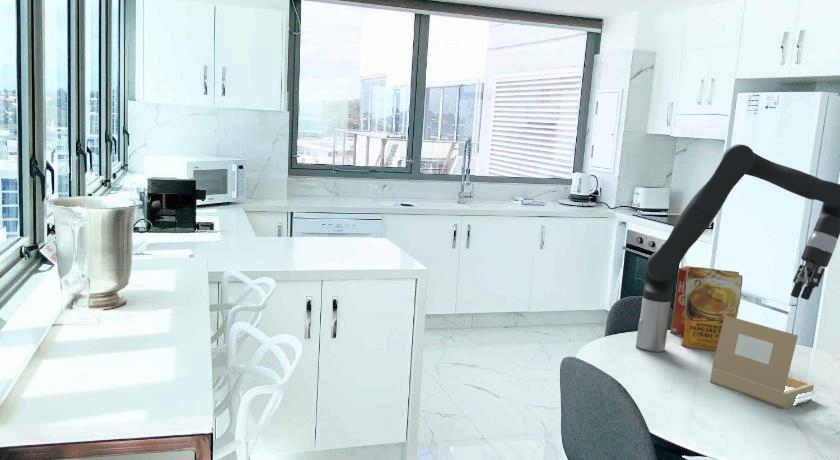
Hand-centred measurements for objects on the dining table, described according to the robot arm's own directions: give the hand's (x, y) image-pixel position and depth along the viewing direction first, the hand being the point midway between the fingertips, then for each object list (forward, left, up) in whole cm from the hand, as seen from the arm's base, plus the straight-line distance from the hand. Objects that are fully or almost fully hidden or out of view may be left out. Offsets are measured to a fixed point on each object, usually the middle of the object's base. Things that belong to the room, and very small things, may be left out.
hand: (799, 297), depth 215 cm
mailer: (-8, -19, -26) cm, 33 cm away
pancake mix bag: (-24, +18, -26) cm, 40 cm away
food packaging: (-29, +32, -26) cm, 50 cm away
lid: (-12, -25, -13) cm, 31 cm away
